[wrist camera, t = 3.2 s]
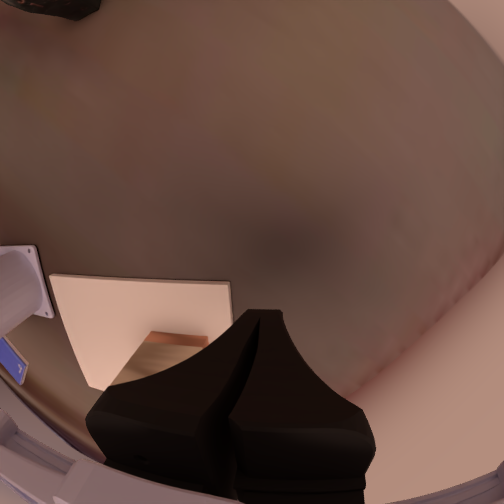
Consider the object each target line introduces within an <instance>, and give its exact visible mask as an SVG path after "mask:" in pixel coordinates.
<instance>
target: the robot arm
mask: <svg viewBox="0 0 504 504" xmlns="http://www.w3.org/2000/svg"><path fill="white" fill-rule="evenodd" d="M32 314H34V315H39V316H43V317H48V318H53V317H54V311H53V308H52V305H51V302H50V298H49V295H48V292H47V288H46V285H45V281H44V277H43V274H42V270H41V266H40V262H39V257H38V253H37V249H36V247H35V246H34V245H14V246H0V339H1V338H2V337H3V336H5V335H6V334H7V333H8V332H10V331H11V330H12V329H14V328H15V327H16V326H18V325H19V324H20V323H22V322H23V321H24V320H26V319H27V318H28V317H30V316H31V315H32ZM85 420H86V426H87V429H88V431H89V433H90V435H91V436H92V438H93V439H94V441H95V442H96V444H97V445H98V446H99V448H100V449H101V451H102V452H103V454H104V455H105V456H106V458H107V459H106V461H105V462H104V464H100V463H97V462H93V461H90V460H86V459H79V460H77V461H75V460H73V459H71V458H69V457H67V456H65V455H63V454H61V453H59V452H57V451H56V450H54V449H52V448H50V447H48V446H46V445H45V444H43V443H41V442H39V441H38V440H36V439H34V438H33V437H31V436H29V435H28V434H26V433H25V432H23V431H21V430H20V429H19V428H18V426H17V425H16V423H15V422H14V420H13V419H12V418H11V417H10V416H9V415H8V413H6V412H5V411H4V410H2V409H1V408H0V480H1V481H2V482H3V483H4V484H6V485H7V486H8V487H9V488H10V489H11V490H13V491H14V492H15V493H16V494H18V495H19V496H20V497H21V498H23V499H24V500H25V501H27V502H28V503H29V504H365V503H364V491H363V490H364V489H365V488H366V480H365V473H366V471H367V469H368V468H369V466H370V464H371V462H372V460H373V458H374V456H375V451H376V447H375V440H374V436H373V433H372V430H371V428H370V425H369V423H368V420H367V418H366V416H365V414H364V412H363V410H362V409H361V408H359V407H358V406H356V405H354V404H353V403H351V402H349V401H348V400H346V399H344V398H343V397H341V396H340V395H338V394H337V393H336V392H335V391H333V390H332V389H331V388H330V387H329V386H328V385H327V384H325V383H324V382H323V381H322V380H321V379H320V378H319V377H318V376H317V375H316V374H315V373H314V372H313V370H312V369H311V368H310V367H309V366H308V364H307V363H306V362H305V361H304V359H303V358H302V356H301V355H300V353H299V352H298V350H297V349H296V347H295V345H294V343H293V342H292V340H291V338H290V336H289V333H288V331H287V329H286V326H285V323H284V320H283V312H282V311H281V310H263V309H248V310H246V311H245V312H244V313H243V314H242V315H241V316H240V317H239V318H238V319H237V320H236V321H235V322H234V323H233V324H232V325H231V326H230V327H229V328H228V329H227V330H226V331H225V332H224V333H223V334H221V335H220V336H219V337H218V338H217V339H215V340H214V341H213V342H212V343H210V344H209V345H208V346H207V347H205V348H204V349H202V350H201V351H199V352H198V353H196V354H194V355H193V356H191V357H189V358H188V359H186V360H184V361H182V362H180V363H178V364H176V365H174V366H172V367H170V368H168V369H165V370H163V371H160V372H158V373H155V374H153V375H150V376H147V377H144V378H140V379H137V380H133V381H129V382H125V383H120V384H116V385H111V386H108V387H107V388H106V390H105V391H104V392H103V394H102V395H101V396H100V398H99V399H98V400H97V402H96V403H95V404H94V406H93V407H92V408H91V410H90V411H89V413H88V414H87V416H86V419H85ZM387 504H504V461H503V462H502V463H501V464H500V465H499V466H498V468H497V470H495V471H493V472H490V473H488V474H486V475H483V476H481V477H478V478H476V479H473V480H471V481H468V482H465V483H463V484H460V485H457V486H454V487H451V488H448V489H445V490H441V491H438V492H435V493H431V494H428V495H424V496H420V497H416V498H411V499H407V500H403V501H397V502H393V503H387Z"/></svg>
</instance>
